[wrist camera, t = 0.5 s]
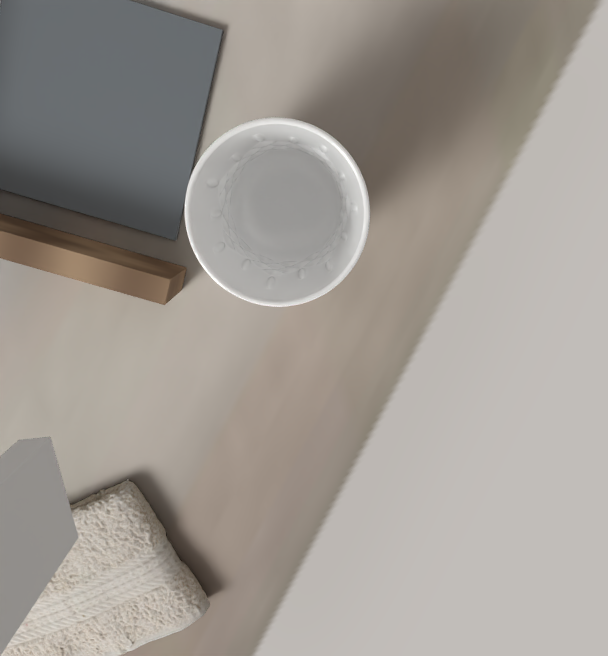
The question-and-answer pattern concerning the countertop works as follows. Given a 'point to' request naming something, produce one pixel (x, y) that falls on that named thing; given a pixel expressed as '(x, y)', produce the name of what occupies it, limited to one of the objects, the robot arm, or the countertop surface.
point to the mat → (103, 107)
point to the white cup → (277, 211)
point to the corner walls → (89, 260)
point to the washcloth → (112, 584)
